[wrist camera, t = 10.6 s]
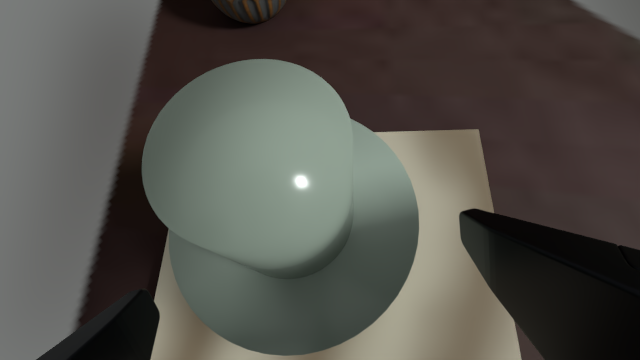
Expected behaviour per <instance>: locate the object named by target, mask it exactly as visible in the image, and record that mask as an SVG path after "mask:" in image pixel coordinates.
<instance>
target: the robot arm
mask: <svg viewBox="0 0 640 360" xmlns="http://www.w3.org/2000/svg"><path fill="white" fill-rule="evenodd" d="M459 224H460V237H461V241H462V244H463V246H464V247H465V249H466V251H467V252H468V254H469V255H470V257H471V259H472V260H473V262H474V264H475V265H476V267H477V269H478V270H479V272H480V273H481V275H482V277H483V278H484V280H485V282H486V283H487V285H488V286H489V288H490V289H491V291H492V292H493V293H494V295H495V296H496V297H497V299H498V300H499V301H500V303H501V304H502V305H503V306H504V308H505V309H506V310H507V312H508V313H509V314H510V315H511V317H512V318H513V319H514V321H515V322H516V323H517V325H518V326H519V327H520V328H521V330H522V331H523V332H524V334H525V335H526V336H527V337H528V339H529V340H530V341H531V343H532V344H533V345H534V346H535V348H536V349H537V350H538V352H539V353H540V354H541V355H542V357H543V358H544V359H545V360H640V250H637V249H634V248H630V247H626V246H622V245H620V246H617V245H616V244H614V243H610V242H606V241H602V240H598V239H594V238H590V237H586V236H582V235H578V234H574V233H570V232H566V231H562V230H558V229H555V228H551V227H547V226H543V225H539V224H535V223H531V222H527V221H523V220H519V219H515V218H511V217H507V216H503V215H499V214H495V213H492V212H488V211H484V210H480V209H476V208H473V209H468V210H464V211H461V212H460V214H459ZM159 320H160V313H159V310H158V308H157V306H156V304H155V302H154V300H153V298H152V296H151V295H150V293H149V291H148V290H146V289H139V290H135V291H131V292H129V293H128V294H126V295H125V296H123V297H122V298H121V299H119V300H118V301H117V302H115V303H114V304H112V305H111V306H110V307H108V308H107V309H106V310H104V311H103V312H101V313H100V314H99V315H97V316H96V317H94V318H93V319H92V320H90V321H89V322H88V323H86V324H85V325H83V326H82V327H81V328H79V329H78V330H77V331H75V332H74V333H72V334H71V335H70V336H68V337H67V338H65V339H64V340H63V341H61V342H60V343H59V344H57V345H56V346H55V347H53V348H52V349H50V350H49V351H48V352H46V353H45V354H43V355H42V356H41V357H39V358H38V359H37V360H151V355H152V351H153V347H154V342H155V338H156V333H157V329H158V324H159Z"/></svg>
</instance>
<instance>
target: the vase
mask: <svg viewBox="0 0 640 360" xmlns="http://www.w3.org/2000/svg"><path fill="white" fill-rule="evenodd" d="M211 1H212V2H213V3H214V4H215V5H216V7H217V8H218V9H219V10H220V11H222V12H223V13H224V14H225V15H227V16H228V17H230V18H232V19H234V20H237V21H240V22H243V23H249V24H256V23H262V22H265V21H267V20H269V19H271V18H272V17H274V16H275V15H276V14H277V13H278V12H279V11H280V10H281V9H282V7H283V6H284V5H285V3H286V1H287V0H211Z"/></svg>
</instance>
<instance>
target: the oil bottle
mask: <svg viewBox="0 0 640 360" xmlns="http://www.w3.org/2000/svg"><path fill="white" fill-rule="evenodd" d="M142 179H143V185H144V189H145V193H146V196H147V198H148V200H149V203H150V205H151V207H152V209H153V210H154V212H155V213H156V215H157V216H158V218H159V219H160V220H161V221H162V222H163V223H164V224H165V225H166V226H167V227H168V228H169V253H170V260H171V266H172V269H173V273H174V276H175V280H176V282H177V284H178V286H179V289H180V291H181V293H182V295H183V297H184V298H185V300H186V302H187V303H188V305H189V306H190V308H191V309H192V310H193V312H194V313H195V314H196V315H197V316H198V317H199V319H200V320H201V321H202V322H203V323H204V324H205V325H207V326H208V327H209V328H210V329H211V330H212V331H214V332H215V333H216V334H218V335H219V336H221V337H223V338H224V339H226V340H227V341H229V342H231V343H233V344H235V345H238V346H240V347H242V348H245V349H247V350H251V351H255V352H259V353H263V354H269V355H280V356H291V355H305V354H310V353H314V352H319V351H323V350H326V349H329V348H331V347H334V346H337V345H340V344H342V343H344V342H345V341H347V340H349V339H351V338H353V337H355V336H357V335H358V334H359V333H361V332H362V331H364V330H365V329H366V328H368V327H369V326H370V325H372V324H373V323H374V322H375V321H376V320H377V319H378V318H379V317H380V316H381V315H382V314H383V313H384V312H385V311H386V310H387V309H388V308H389V306H390V305H391V304H392V302H393V301H394V300H395V298H396V297H397V296H398V294H399V292H400V291H401V289H402V287H403V285H404V283H405V282H406V280H407V278H408V275H409V273H410V270H411V267H412V265H413V262H414V258H415V254H416V250H417V246H418V236H419V211H418V206H417V201H416V195H415V192H414V189H413V186H412V183H411V180H410V178H409V176H408V174H407V172H406V170H405V168H404V166H403V165H402V163H401V162H400V160H399V159H398V157H397V156H396V154H395V153H394V152H393V151H392V150H391V148H390V147H389V146H388V145H387V144H386V143H385V142H384V141H383V140H382V139H381V138H380V137H378V136H377V135H376V134H375V133H374V132H372V131H371V130H369V129H368V128H366V127H365V126H363V125H362V124H360V123H358V122H356V121H354V120H352V119H350V118H349V114H348V112H347V110H346V107H345V105H344V103H343V102H342V100H341V98H340V97H339V95H338V94H337V93H336V92H335V90H334V89H333V88H332V87H331V86H330V85H329V84H328V83H327V82H326V81H325V80H323V79H322V78H321V77H319V76H318V75H316V74H315V73H313V72H312V71H310V70H308V69H306V68H304V67H301V66H299V65H296V64H293V63H289V62H285V61H280V60H271V59H253V60H244V61H239V62H234V63H230V64H227V65H224V66H221V67H218V68H216V69H213V70H211V71H209V72H207V73H205V74H203V75H201V76H199V77H198V78H196V79H194V80H193V81H192V82H190V83H189V84H187V85H186V86H185V87H183V88H182V89H181V90H180V91H179V92H178V93H176V94H175V95H174V96H173V98H172V99H171V100H170V101H169V102H168V103H167V104H166V105H165V107H164V108H163V109H162V111H161V112H160V113H159V115H158V117H157V118H156V120H155V121H154V123H153V125H152V127H151V130H150V132H149V134H148V137H147V140H146V143H145V146H144V151H143V157H142Z"/></svg>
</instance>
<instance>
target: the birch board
mask: <svg viewBox="0 0 640 360" xmlns="http://www.w3.org/2000/svg"><path fill="white" fill-rule="evenodd" d="M374 133H375V134H376V135H377V136H378V137H380V138H381V139H382V140H383V141H384V142H385V143H386V144H387V145H388V146H389V147H390V148H391V150H392V151H393V152H394V153H395V154H396V156H397V157H398V159H399V160H400V162H401V163H402V165H403V166H404V168H405V170H406V172H407V174H408V176H409V178H410V180H411V183H412V186H413V189H414V192H415V195H416V201H417V206H418V211H419V236H418V246H417V250H416V254H415V258H414V262H413V265H412V267H411V270H410V273H409V275H408V278H407V280H406V282H405V283H404V285H403V287H402V289H401V291H400V292H399V294H398V296H397V297H396V298H395V300H394V301H393V302H392V304H391V305H390V306H389V308H388V309H387V310H386V311H385V312H384V313H383V314H382V315H381V316H380V317H379V318H378V319H377V320H376V321H375V322H374V323H373V324H372V325H370V326H369V327H368V328H366V329H365V330H364V331H362V332H361V333H359V334H358V335H357V336H355V337H353V338H351V339H349V340H347V341H345V342H344V343H342V344H340V345H337V346H334V347H331V348H329V349H326V350H323V351H319V352H314V353H310V354H305V355H291V356H280V355H269V354H263V353H259V352H255V351H251V350H247V349H245V348H242V347H240V346H238V345H235V344H233V343H231V342H229V341H227V340H226V339H224V338H223V337H221V336H219V335H218V334H216V333H215V332H214V331H212V330H211V329H210V328H209V327H208V326H207V325H205V324H204V323H203V322H202V321H201V320H200V319H199V317H198V316H197V315H196V314H195V313H194V312H193V310H192V309H191V308H190V306H189V305H188V303H187V302H186V300H185V298H184V297H183V295H182V293H181V291H180V289H179V286H178V284H177V282H176V280H175V276H174V273H173V269H172V266H171V260H170V253H169V230H168V235H167V240H166V245H165V250H164V255H163V260H162V265H161V270H160V274H159V279H158V284H157V289H156V294H155V299H154V302H155V304H156V306H157V308H158V310H159V313H160V320H159V324H158V329H157V333H156V338H155V342H154V347H153V351H152V355H151V360H521V355H520V350H519V344H518V339H517V334H516V328H515V323H514V319H513V318H512V317H511V315H510V314H509V313H508V312H507V310H506V309H505V308H504V306H503V305H502V304H501V303H500V301H499V300H498V299H497V297H496V296H495V295H494V293H493V292H492V291H491V289H490V288H489V286H488V285H487V283H486V282H485V280H484V278H483V277H482V275H481V273H480V272H479V270H478V269H477V267H476V265H475V264H474V262H473V260H472V259H471V257H470V255H469V254H468V252H467V251H466V249H465V247H464V246H463V244H462V241H461V237H460V224H459V214H460V212H461V211H464V210H468V209H473V208H476V209H480V210H484V211H488V212H492V213H494V210H493V205H492V200H491V194H490V189H489V183H488V178H487V173H486V167H485V162H484V157H483V151H482V146H481V140H480V135H479V130H478V129H475V130H441V131H407V132H374Z"/></svg>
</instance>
